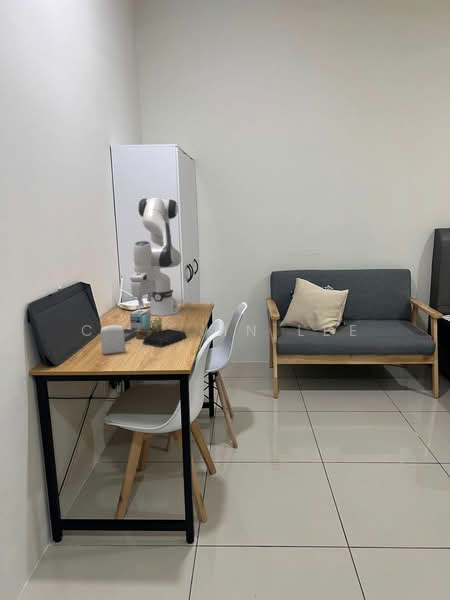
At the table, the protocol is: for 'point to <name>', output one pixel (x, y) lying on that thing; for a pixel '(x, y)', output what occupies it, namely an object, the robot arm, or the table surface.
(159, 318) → the dog
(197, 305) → the table surface
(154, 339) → the external hard drive
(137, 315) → the light bulb box
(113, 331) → the photo printer
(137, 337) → the socket block
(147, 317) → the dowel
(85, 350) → the table surface
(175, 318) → the table surface
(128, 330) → the tray
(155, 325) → the dog
